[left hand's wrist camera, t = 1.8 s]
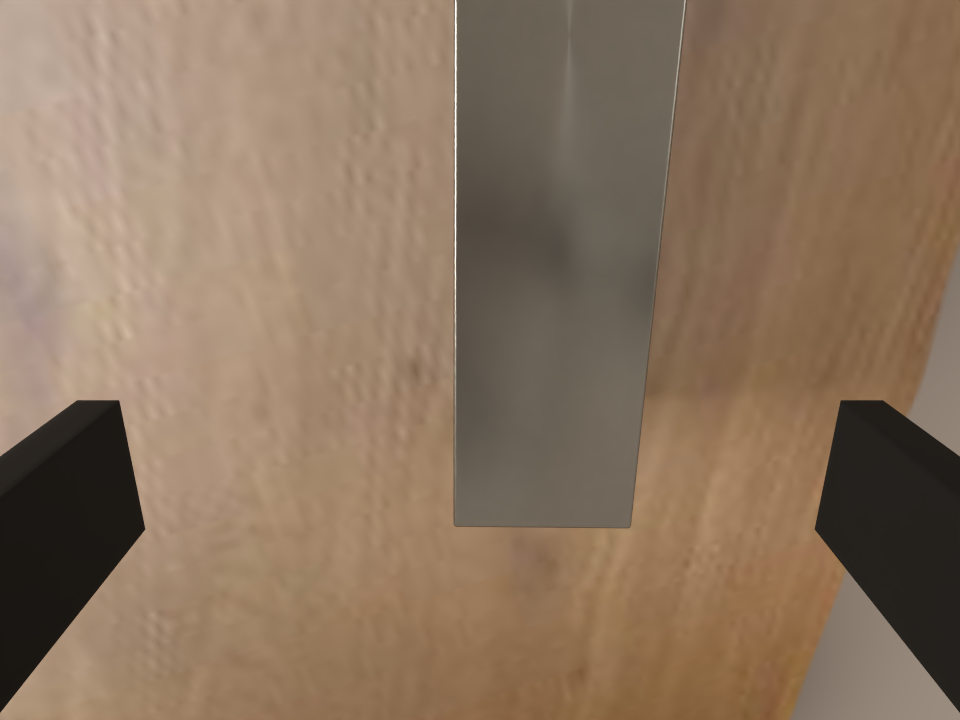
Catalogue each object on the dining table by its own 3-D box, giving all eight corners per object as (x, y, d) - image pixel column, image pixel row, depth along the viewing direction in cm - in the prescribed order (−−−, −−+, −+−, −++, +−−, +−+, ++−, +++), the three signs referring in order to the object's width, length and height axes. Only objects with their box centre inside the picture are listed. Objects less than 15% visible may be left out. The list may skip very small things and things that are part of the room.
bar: (584, 402, 28) (631, 529, 20) (460, 401, 28) (453, 527, 20) (646, -437, 19) (781, -868, 11) (464, -441, 19) (454, -878, 11)
